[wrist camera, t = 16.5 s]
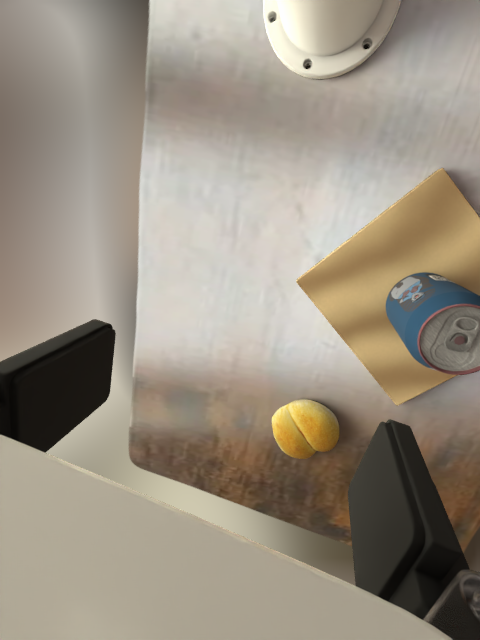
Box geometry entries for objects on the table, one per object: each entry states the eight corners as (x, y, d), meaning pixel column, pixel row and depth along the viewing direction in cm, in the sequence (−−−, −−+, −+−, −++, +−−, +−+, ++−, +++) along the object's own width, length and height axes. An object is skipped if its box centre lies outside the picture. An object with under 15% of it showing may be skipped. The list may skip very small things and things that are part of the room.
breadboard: (296, 279, 39) (295, 281, 38) (437, 169, 32) (443, 167, 31) (394, 399, 41) (396, 406, 39) (548, 319, 34) (558, 324, 32)
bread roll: (349, 436, 44) (351, 456, 40) (291, 454, 47) (289, 474, 43) (320, 387, 43) (320, 403, 39) (263, 409, 46) (258, 426, 42)
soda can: (438, 337, 36) (489, 392, 25) (375, 322, 37) (396, 368, 26) (464, 278, 33) (534, 309, 22) (395, 264, 34) (429, 287, 23)
